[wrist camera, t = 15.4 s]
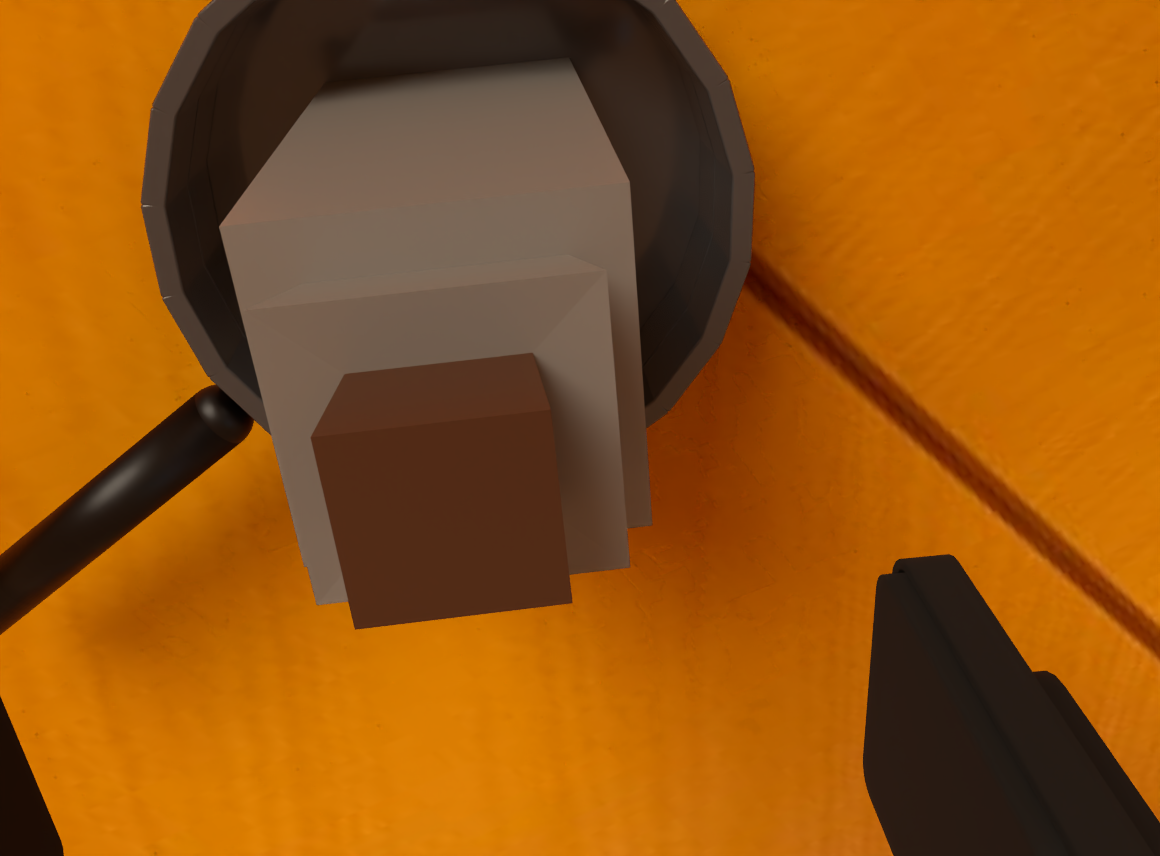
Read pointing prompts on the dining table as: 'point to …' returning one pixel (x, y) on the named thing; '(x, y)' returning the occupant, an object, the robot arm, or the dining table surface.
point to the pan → (446, 42)
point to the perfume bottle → (448, 340)
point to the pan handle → (119, 499)
